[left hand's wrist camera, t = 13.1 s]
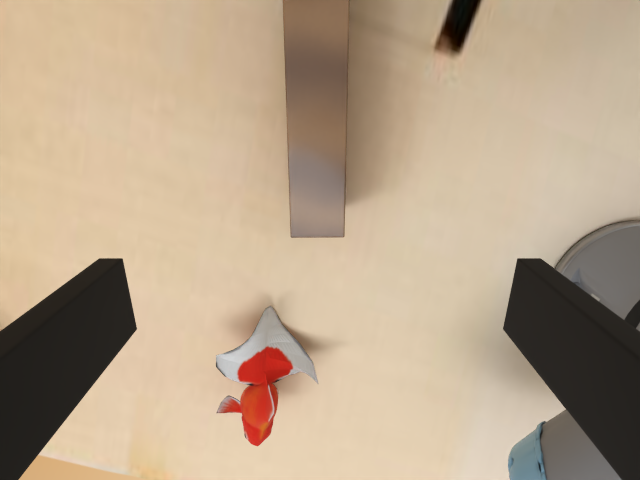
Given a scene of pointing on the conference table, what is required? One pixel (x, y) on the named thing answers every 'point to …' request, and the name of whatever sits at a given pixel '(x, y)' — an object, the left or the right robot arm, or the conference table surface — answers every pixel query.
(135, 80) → the conference table surface
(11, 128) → the conference table surface
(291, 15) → the beam
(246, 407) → the fish
